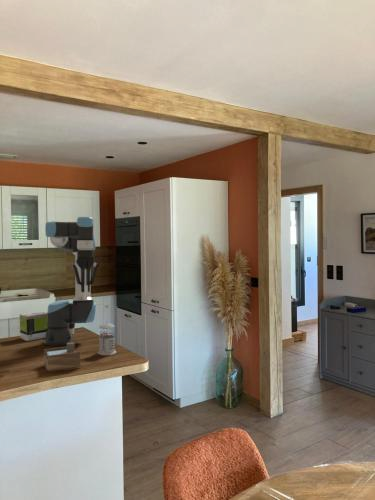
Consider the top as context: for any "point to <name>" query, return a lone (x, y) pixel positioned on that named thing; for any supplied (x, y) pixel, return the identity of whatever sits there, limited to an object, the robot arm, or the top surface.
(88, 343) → the top surface
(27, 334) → the tea box
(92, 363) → the top surface
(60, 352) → the grey l-shaped block
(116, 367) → the top surface
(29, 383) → the top surface
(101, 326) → the french press
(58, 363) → the lid box
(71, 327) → the coffee cup
